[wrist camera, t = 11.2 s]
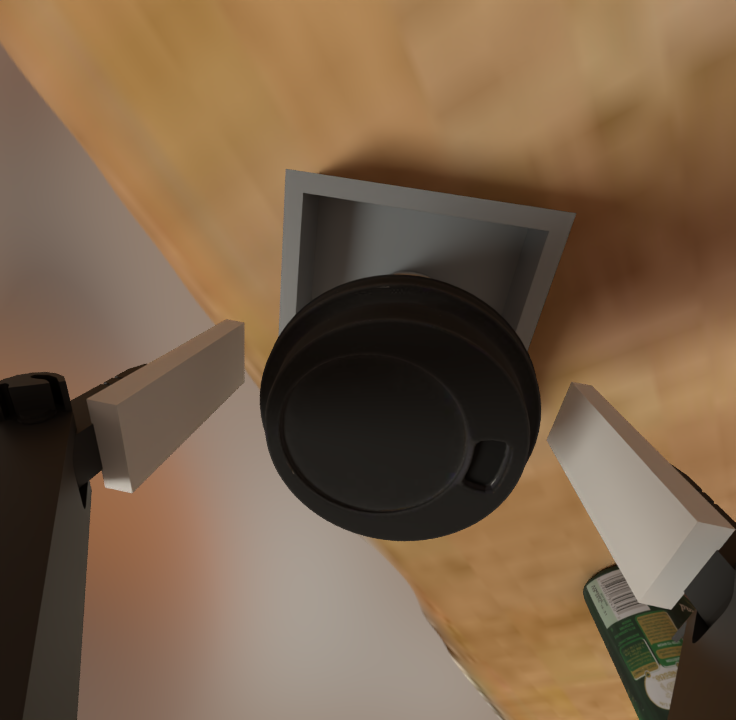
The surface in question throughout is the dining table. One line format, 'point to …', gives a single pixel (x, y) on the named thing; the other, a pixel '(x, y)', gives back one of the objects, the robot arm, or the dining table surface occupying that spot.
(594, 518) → the robot arm
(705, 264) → the dining table surface
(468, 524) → the coffee cup
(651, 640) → the coffee jar
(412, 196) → the tray
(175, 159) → the dining table surface
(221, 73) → the dining table surface
